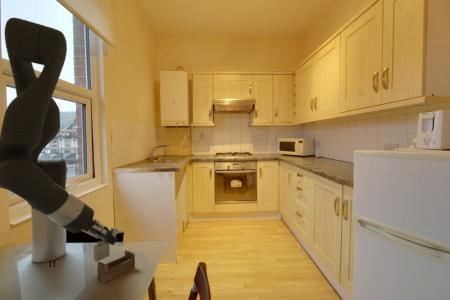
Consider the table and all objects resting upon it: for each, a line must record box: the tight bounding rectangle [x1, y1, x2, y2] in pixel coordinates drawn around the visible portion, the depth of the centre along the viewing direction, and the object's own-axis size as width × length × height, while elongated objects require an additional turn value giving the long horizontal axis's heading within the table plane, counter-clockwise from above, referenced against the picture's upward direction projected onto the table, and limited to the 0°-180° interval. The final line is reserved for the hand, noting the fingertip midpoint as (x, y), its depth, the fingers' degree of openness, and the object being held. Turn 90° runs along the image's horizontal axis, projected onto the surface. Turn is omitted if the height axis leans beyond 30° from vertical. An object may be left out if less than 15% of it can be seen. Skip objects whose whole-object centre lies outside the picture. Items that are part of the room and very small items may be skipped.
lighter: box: [93, 227, 119, 263], centre depth 70 cm, size 7×2×8 cm, turn 150°
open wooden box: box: [97, 249, 136, 283], centre depth 67 cm, size 4×9×4 cm, turn 149°
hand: (112, 240), depth 72 cm, fingers closed on lighter, 2 cm apart
